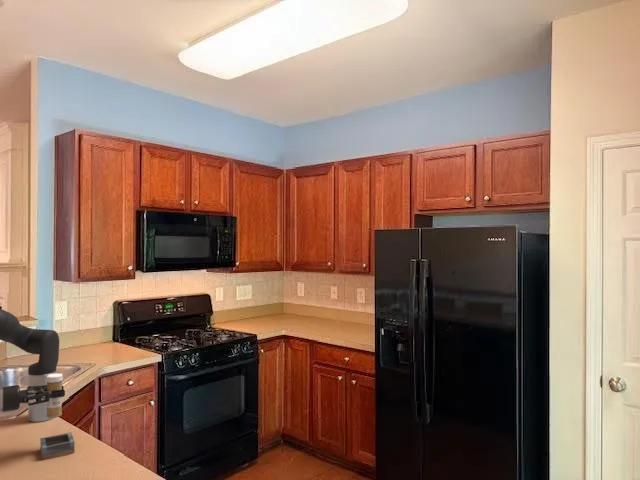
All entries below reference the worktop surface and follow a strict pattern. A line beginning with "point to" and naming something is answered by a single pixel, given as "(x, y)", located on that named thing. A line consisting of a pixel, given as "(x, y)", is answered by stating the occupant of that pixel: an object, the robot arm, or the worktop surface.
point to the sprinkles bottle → (54, 403)
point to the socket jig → (57, 445)
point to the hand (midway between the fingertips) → (63, 390)
